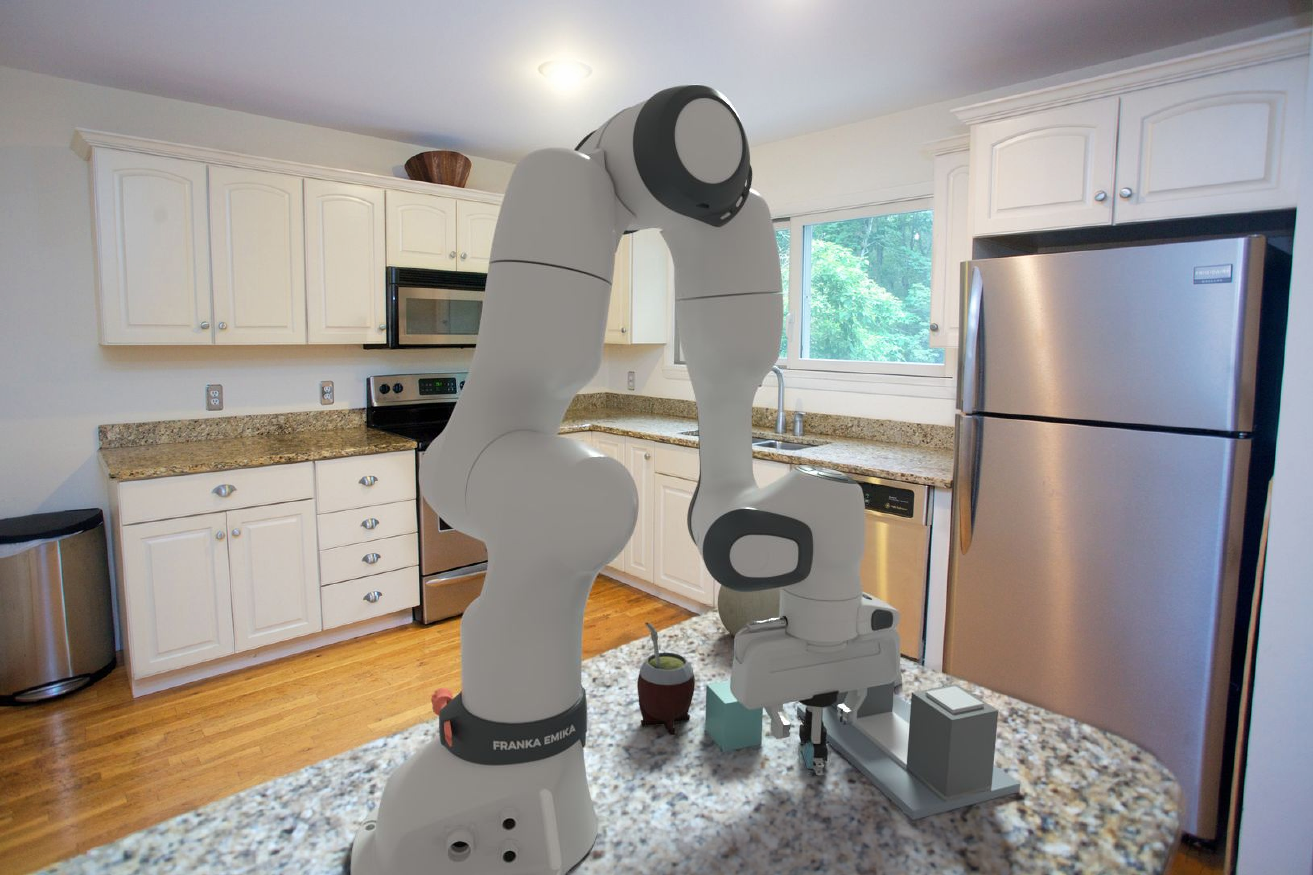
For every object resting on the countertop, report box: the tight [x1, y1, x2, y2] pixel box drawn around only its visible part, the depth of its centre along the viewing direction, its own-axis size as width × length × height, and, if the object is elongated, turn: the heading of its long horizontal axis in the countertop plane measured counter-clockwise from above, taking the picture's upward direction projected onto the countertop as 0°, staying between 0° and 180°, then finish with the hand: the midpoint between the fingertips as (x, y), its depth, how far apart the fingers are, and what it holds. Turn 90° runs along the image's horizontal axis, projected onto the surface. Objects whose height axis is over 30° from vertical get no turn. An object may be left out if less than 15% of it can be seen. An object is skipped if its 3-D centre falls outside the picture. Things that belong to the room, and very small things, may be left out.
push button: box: [797, 691, 839, 776], centre depth 82 cm, size 7×5×10 cm
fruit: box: [717, 584, 780, 637], centre depth 115 cm, size 10×12×15 cm
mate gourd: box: [636, 621, 696, 736], centre depth 89 cm, size 8×8×15 cm
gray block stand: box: [796, 681, 1021, 821], centre depth 85 cm, size 14×22×10 cm, turn 20°
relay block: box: [704, 679, 764, 752], centre depth 87 cm, size 5×5×6 cm
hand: (813, 728), depth 83 cm, fingers open, 7 cm apart
